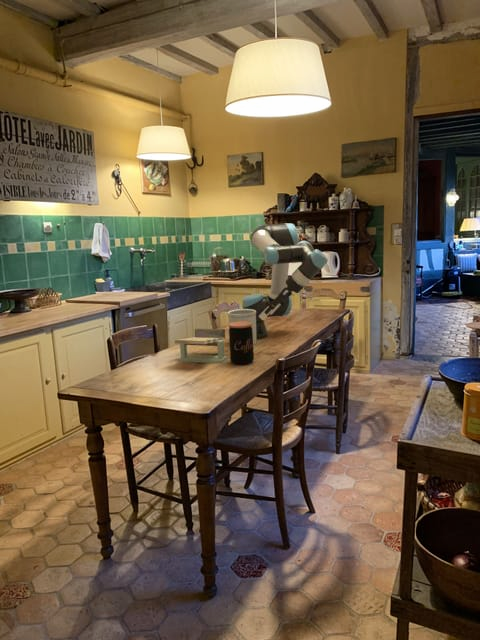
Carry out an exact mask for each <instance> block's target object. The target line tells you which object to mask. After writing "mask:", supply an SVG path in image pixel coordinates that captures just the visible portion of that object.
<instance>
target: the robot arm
mask: <svg viewBox="0 0 480 640" xmlns="http://www.w3.org/2000/svg"><path fill="white" fill-rule="evenodd" d="M250 242H251V244H252V245H253V247H254V248H255V249H257V250H260V251H261V252H262V253H263V259H264V263H265V264H267V265H272V267H271V270H272V272H271V281H270V290H268V291H267V296H265V295H264V294H263V293H256V294H255V293H254V294H250V295H247V296H244V297H243V298H242V305H241V306H242V309H253V310H256V340H263V339H266V338H268V336H269V332H268V330H267V326H266V324H265V320H266V318H273V317H283V316H288V315H289V314H290V313H291V311H292V305H293V303H292V297H291V296H292V295H293V293H296V294H299V293H300V292H301V291H302V290H303V289H304V287H305V286H306V285H307V284H311V280H312V279H313V278H315V276H316V275H317V274H318V273H319V272H320V271H321V270H322V269H324V267H325V265H326V264H327V263H328V261H329V258H328V257H327V256H326V255H325V254H324V253H323V252H322V251H321V250H319V249H317V248H316V249H314V246H313V245H312V244H311V243H310V242H308V241H307V240H301V241H299V235H298V230H297V227H296V226H295V224H294V223H286V222H285V223H273V224H272V223H271V224H268V223H266V224H262V225H261V224H260V226H257V227H256V228H255V229H253V230H252V233H251V235H250ZM295 263H301V264H300V265H299V266H298V267H297V268H296V269H295V270H294V271H293V272H292V273H291V275H290V276H289V268H290V267H289V266H290V264H295Z"/></svg>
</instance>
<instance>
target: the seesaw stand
mask: <svg viewBox="0 0 480 640" xmlns="http://www.w3.org/2000/svg"><path fill="white" fill-rule="evenodd" d="M224 342H225V341H224V340H219V341H217V346H216V347H217V355H213V354H212V355H211V354H210V355H209V354H188V345H185V344H179V350H180V357H178V358H177V362H188V363H189V362H191V363H206V364H207V363H210V364H211V363H214V364H222V363H223V362H225V361H226V360H228V355H225V343H224Z"/></svg>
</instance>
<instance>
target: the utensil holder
mask: <svg viewBox="0 0 480 640" xmlns="http://www.w3.org/2000/svg"><path fill="white" fill-rule="evenodd" d="M227 317H228V325H229V324H230V323H232V322H240V321H246V322H251V323H252V326H251V327H252V330H253V346H255V345H256V344H257V339H256V310H253V309H243V308H238V309H237V308H236V309H232V310H229V311H228V312H227ZM229 329H230V327H229V326H228V330H229Z"/></svg>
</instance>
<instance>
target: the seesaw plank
mask: <svg viewBox="0 0 480 640" xmlns="http://www.w3.org/2000/svg"><path fill="white" fill-rule="evenodd" d="M219 340H224V342H225V341H226V329H225V328H223V329H222V328H195V329H194V336H193V337H188V338H181V339H174V344H179V345H180V344H185V345H187V346H202V347H203V346H206V347H211V346H212V347H218V346H217V341H219Z"/></svg>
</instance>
